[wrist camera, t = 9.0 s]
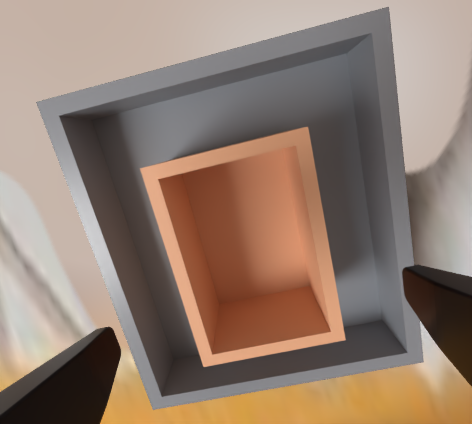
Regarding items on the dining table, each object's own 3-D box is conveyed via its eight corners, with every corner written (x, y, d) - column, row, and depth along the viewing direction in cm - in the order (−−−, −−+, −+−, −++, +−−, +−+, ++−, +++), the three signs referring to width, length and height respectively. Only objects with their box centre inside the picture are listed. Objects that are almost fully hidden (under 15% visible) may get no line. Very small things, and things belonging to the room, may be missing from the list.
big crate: (388, 319, 20) (423, 362, 16) (169, 360, 21) (152, 409, 17) (352, 39, 16) (388, 6, 12) (82, 110, 17) (36, 102, 13)
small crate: (318, 287, 18) (345, 340, 14) (213, 309, 19) (203, 366, 14) (288, 130, 16) (308, 126, 11) (169, 160, 17) (140, 168, 12)
